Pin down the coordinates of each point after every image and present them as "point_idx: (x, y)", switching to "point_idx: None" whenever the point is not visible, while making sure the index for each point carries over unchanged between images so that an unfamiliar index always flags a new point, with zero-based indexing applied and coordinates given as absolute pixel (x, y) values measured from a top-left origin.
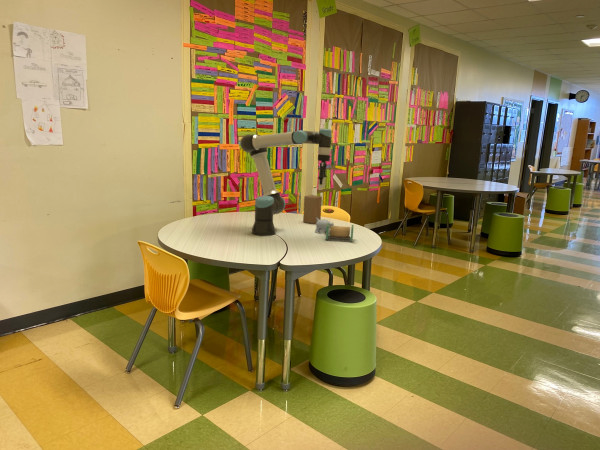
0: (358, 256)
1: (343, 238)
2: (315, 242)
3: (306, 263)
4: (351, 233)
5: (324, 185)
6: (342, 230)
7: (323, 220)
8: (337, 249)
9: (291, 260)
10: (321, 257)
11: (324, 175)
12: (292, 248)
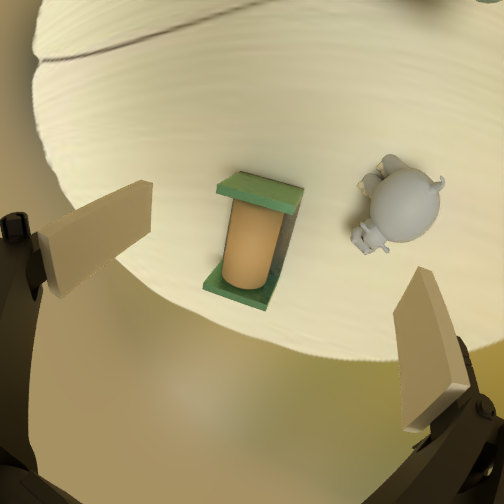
0: None
1: None
2: (203, 127)
3: (38, 114)
4: (212, 273)
5: (398, 328)
6: (226, 249)
7: (398, 207)
8: None
9: (48, 81)
10: (68, 142)
11: (415, 453)
12: (123, 59)
